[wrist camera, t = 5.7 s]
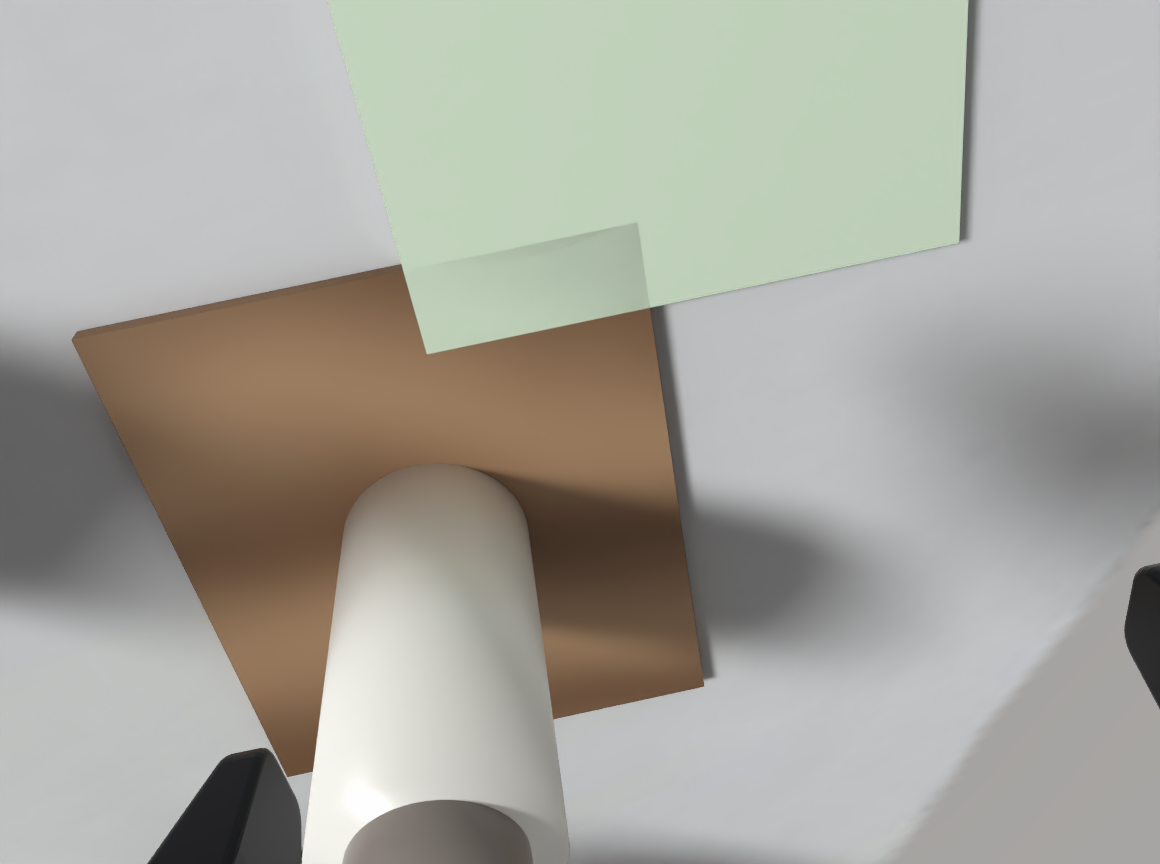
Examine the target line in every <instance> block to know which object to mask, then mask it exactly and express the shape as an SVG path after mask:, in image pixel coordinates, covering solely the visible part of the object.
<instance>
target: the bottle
mask: <svg viewBox="0 0 1160 864" xmlns="http://www.w3.org/2000/svg"><path fill="white" fill-rule="evenodd" d="M569 849H570V844H569V837H568V829H567V821H566V814H565V806H564V798H563V791H562V783H561V775H560V768H559V760H558V753H557V745H556V737H555V730H554V722H553V714H552V707H551V699H550V691H549V684H548V676H547V669H546V661H545V653H544V646H543V638H542V630H541V623H540V615H539V608H538V600H537V592H536V585H535V577H534V569H533V562H532V554H531V546H530V539H529V531H528V525H527V520H526V517H525V514H524V512H523V510H522V508H521V506H520V504H519V502H518V501H517V500H516V498H515V497H514V496H513V494H512V493H511V492H510V491H509V490H508V489H507V488H506V487H504V486H503V485H502V484H501V483H499V482H498V481H497V480H495V479H493V478H492V477H490V476H488V475H486V474H484V473H482V472H479V471H477V470H474V469H471V468H468V467H464V466H459V465H453V464H441V463H436V464H422V465H416V466H411V467H408V468H404V469H401V470H398V471H396V472H393V473H391V474H389V475H387V476H385V477H383V478H381V479H379V480H378V481H377V482H375V483H374V484H372V485H371V486H370V487H369V488H367V489H366V490H365V491H364V492H363V493H362V494H361V495H360V497H359V498H358V499H357V500H356V502H355V503H354V505H353V506H352V508H351V510H350V511H349V514H348V516H347V519H346V521H345V526H344V531H343V538H342V546H341V554H340V562H339V570H338V578H337V586H336V594H335V601H334V609H333V617H332V625H331V633H330V641H329V649H328V657H327V665H326V672H325V680H324V688H323V696H322V704H321V712H320V720H319V728H318V736H317V743H316V751H315V759H314V767H313V775H312V783H311V791H310V799H309V807H308V814H307V822H306V830H305V838H304V846H303V854H302V864H568V859H569Z"/></svg>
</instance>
